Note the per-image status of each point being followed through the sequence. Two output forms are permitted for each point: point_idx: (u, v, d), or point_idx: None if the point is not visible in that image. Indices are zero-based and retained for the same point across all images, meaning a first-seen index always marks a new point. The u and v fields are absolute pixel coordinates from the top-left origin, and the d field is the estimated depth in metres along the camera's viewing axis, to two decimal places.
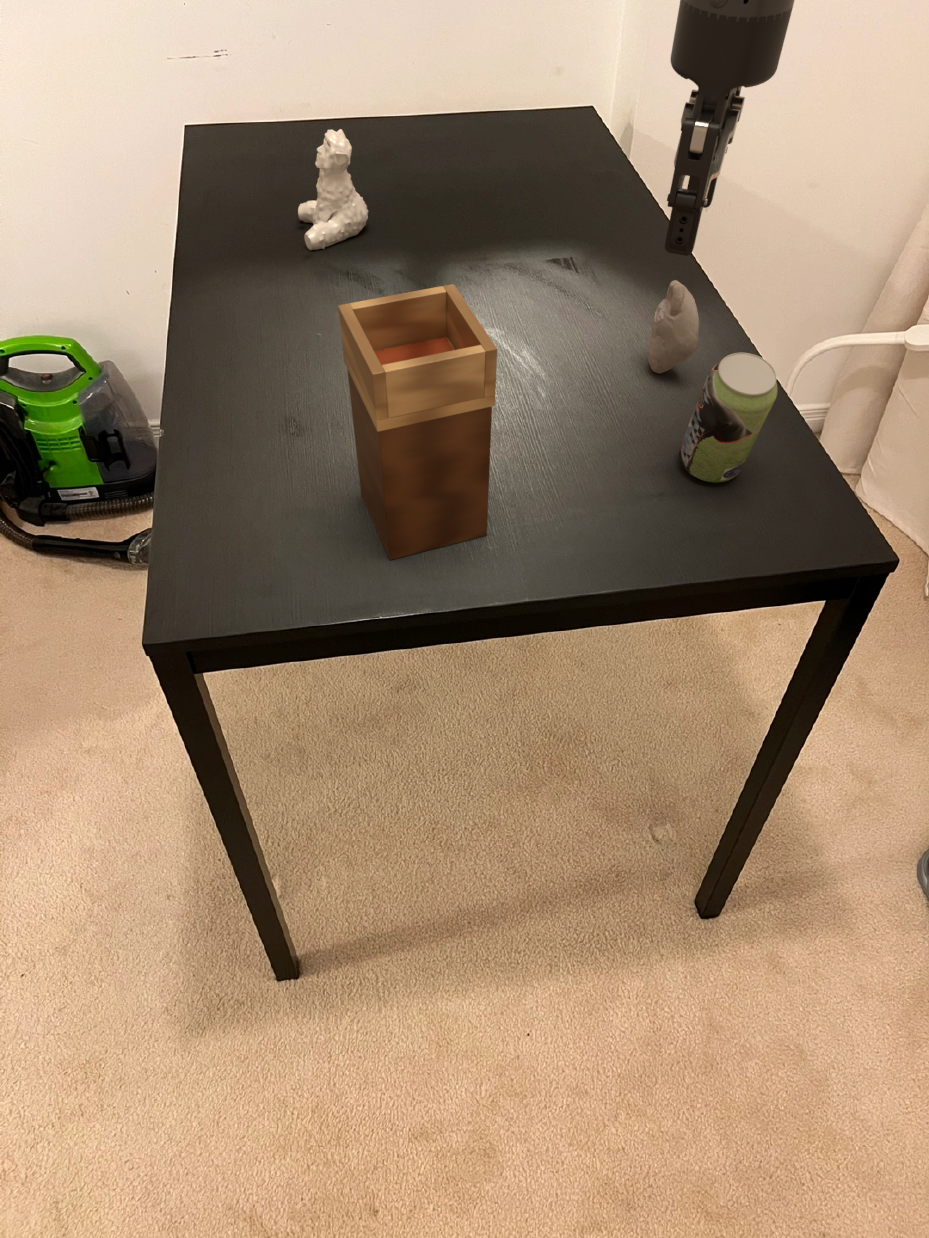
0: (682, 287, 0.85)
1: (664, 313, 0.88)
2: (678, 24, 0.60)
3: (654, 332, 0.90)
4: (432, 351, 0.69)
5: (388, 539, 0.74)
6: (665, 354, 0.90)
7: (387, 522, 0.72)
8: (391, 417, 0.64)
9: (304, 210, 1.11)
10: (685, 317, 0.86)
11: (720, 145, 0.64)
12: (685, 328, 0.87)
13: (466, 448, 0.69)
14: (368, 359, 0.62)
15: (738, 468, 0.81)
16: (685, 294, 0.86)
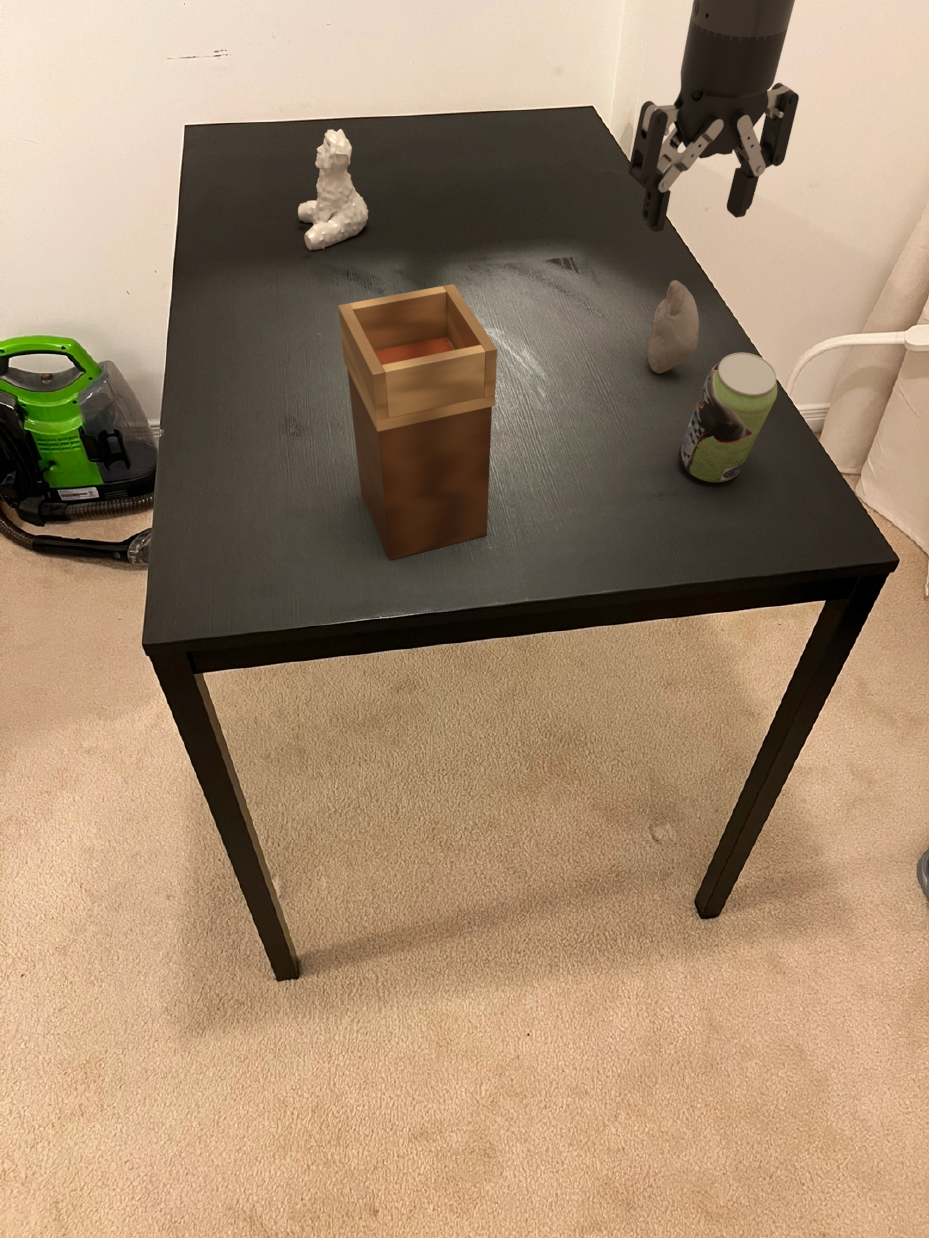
0: (682, 287, 0.85)
1: (664, 313, 0.88)
2: None
3: (654, 332, 0.90)
4: (432, 351, 0.69)
5: (388, 539, 0.74)
6: (665, 354, 0.90)
7: (387, 522, 0.72)
8: (391, 417, 0.64)
9: (304, 210, 1.11)
10: (685, 317, 0.86)
11: (691, 142, 0.73)
12: (685, 328, 0.87)
13: (466, 448, 0.69)
14: (368, 359, 0.62)
15: (738, 468, 0.81)
16: (685, 294, 0.86)
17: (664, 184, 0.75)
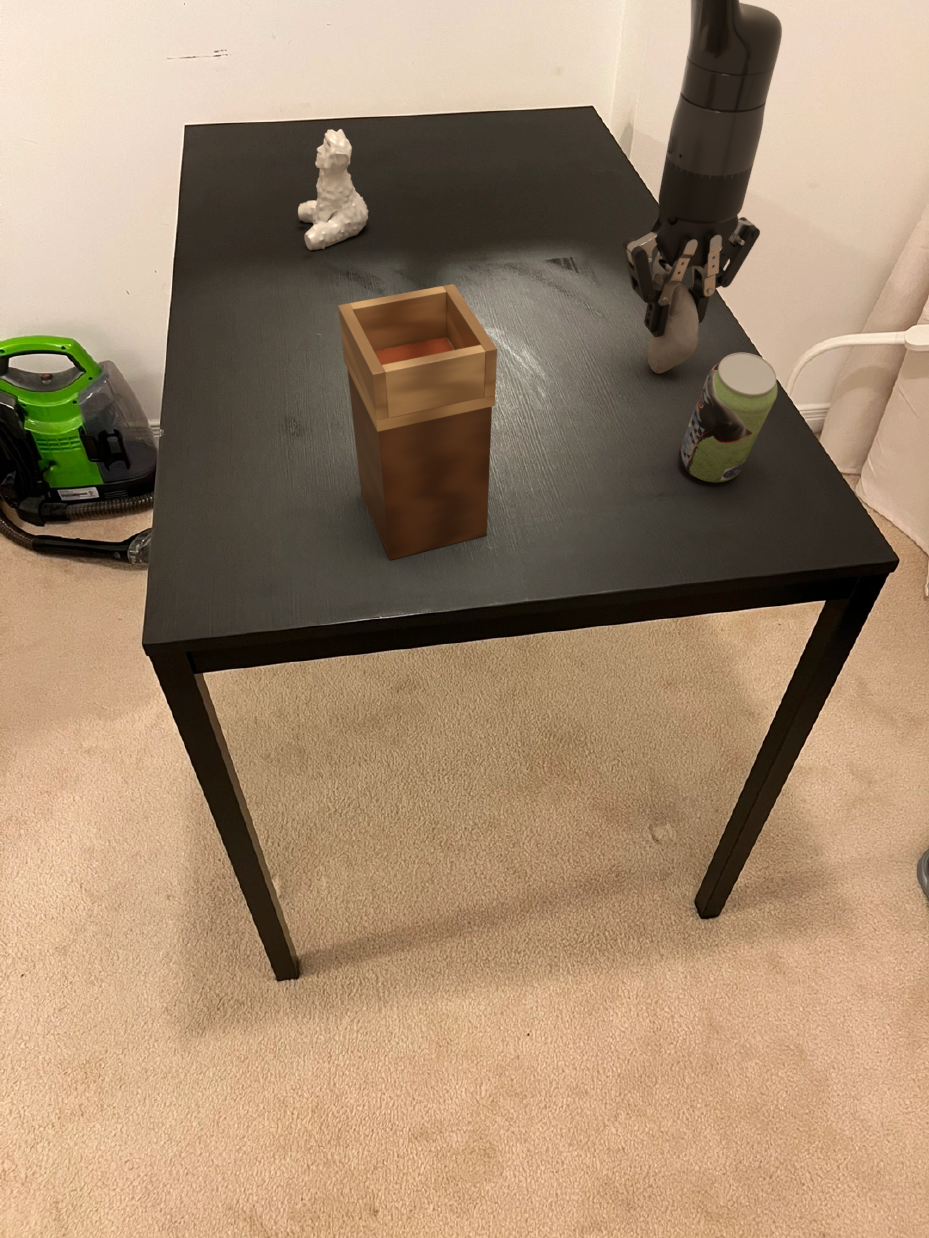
0: (682, 287, 0.85)
1: None
2: None
3: None
4: (432, 351, 0.69)
5: (388, 539, 0.74)
6: (665, 354, 0.90)
7: (387, 522, 0.72)
8: (391, 417, 0.64)
9: (304, 210, 1.11)
10: (685, 317, 0.86)
11: (674, 263, 0.82)
12: (685, 328, 0.87)
13: (466, 448, 0.69)
14: (368, 359, 0.62)
15: (738, 468, 0.81)
16: (685, 294, 0.86)
17: (663, 300, 0.84)
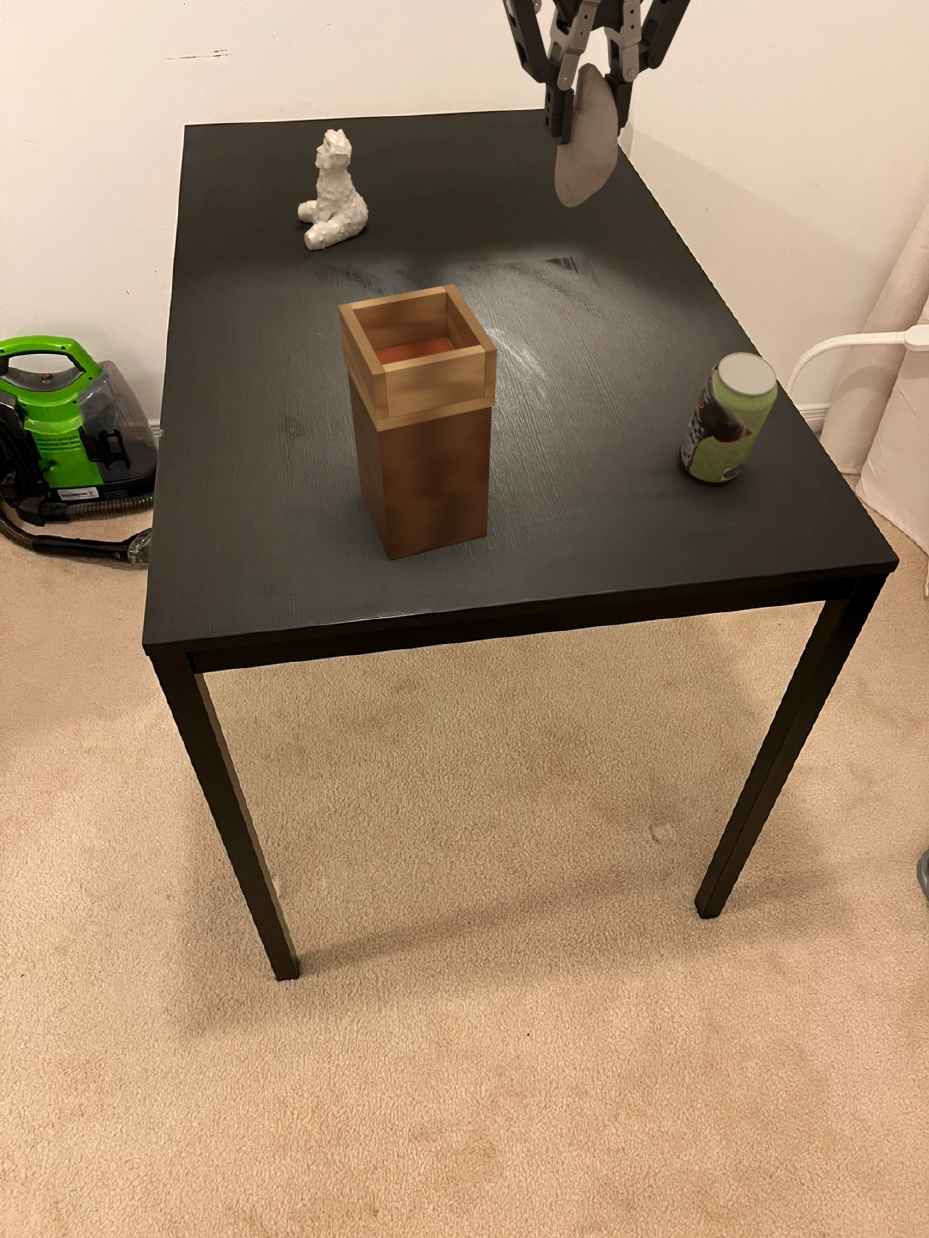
0: (591, 66, 0.61)
1: None
2: None
3: None
4: (432, 351, 0.69)
5: (388, 539, 0.74)
6: (575, 173, 0.65)
7: (387, 522, 0.72)
8: (391, 417, 0.64)
9: (304, 210, 1.11)
10: (597, 111, 0.62)
11: (574, 17, 0.57)
12: (598, 128, 0.62)
13: (466, 448, 0.69)
14: (368, 359, 0.62)
15: (738, 468, 0.81)
16: (597, 78, 0.61)
17: (564, 80, 0.60)
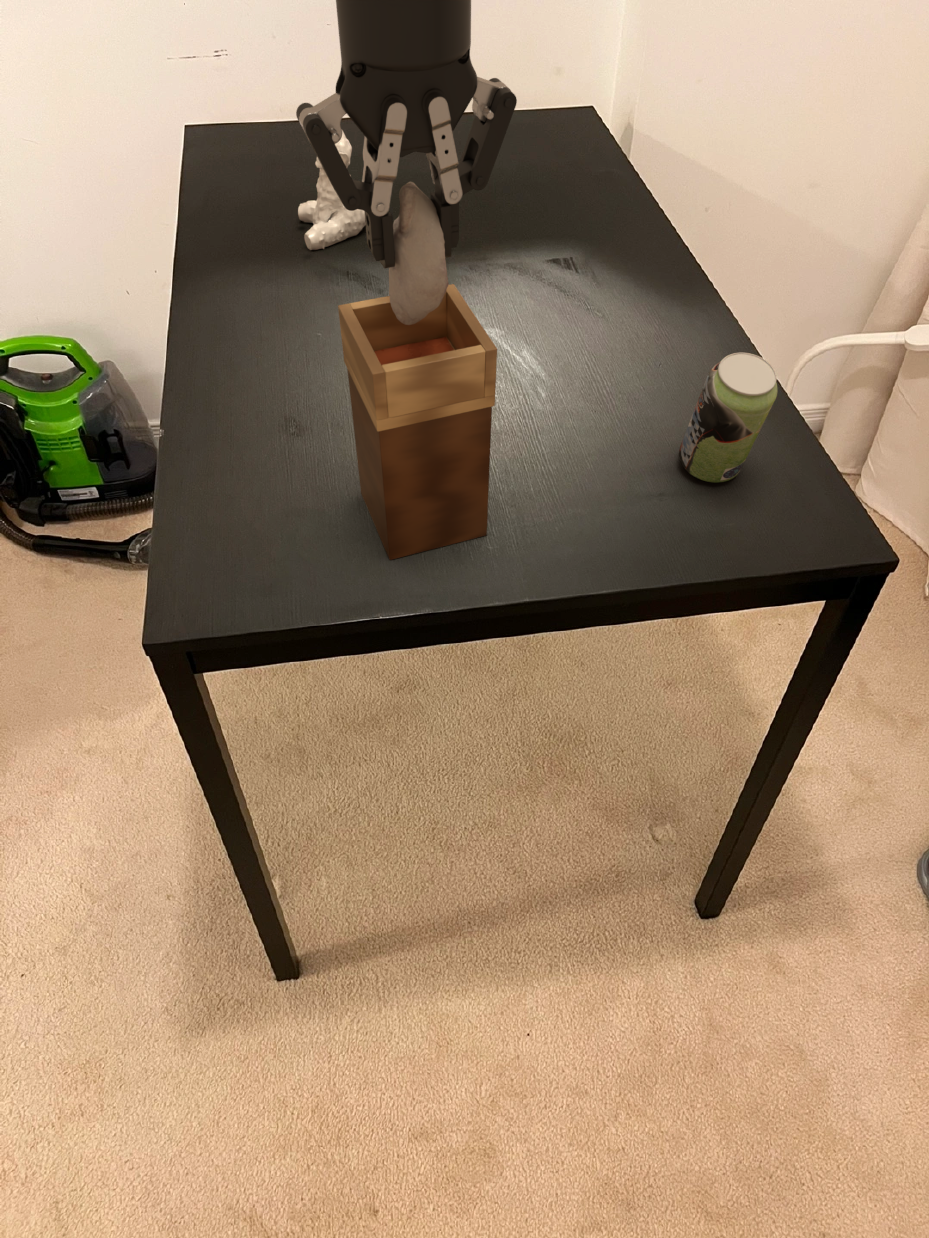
0: (410, 188, 0.56)
1: (395, 232, 0.59)
2: None
3: None
4: (432, 351, 0.69)
5: (388, 539, 0.74)
6: (405, 294, 0.61)
7: (387, 522, 0.72)
8: (391, 417, 0.64)
9: (304, 210, 1.11)
10: (419, 235, 0.57)
11: (379, 145, 0.53)
12: (423, 252, 0.58)
13: (466, 448, 0.69)
14: (368, 359, 0.62)
15: (738, 468, 0.81)
16: (417, 200, 0.57)
17: (378, 206, 0.55)
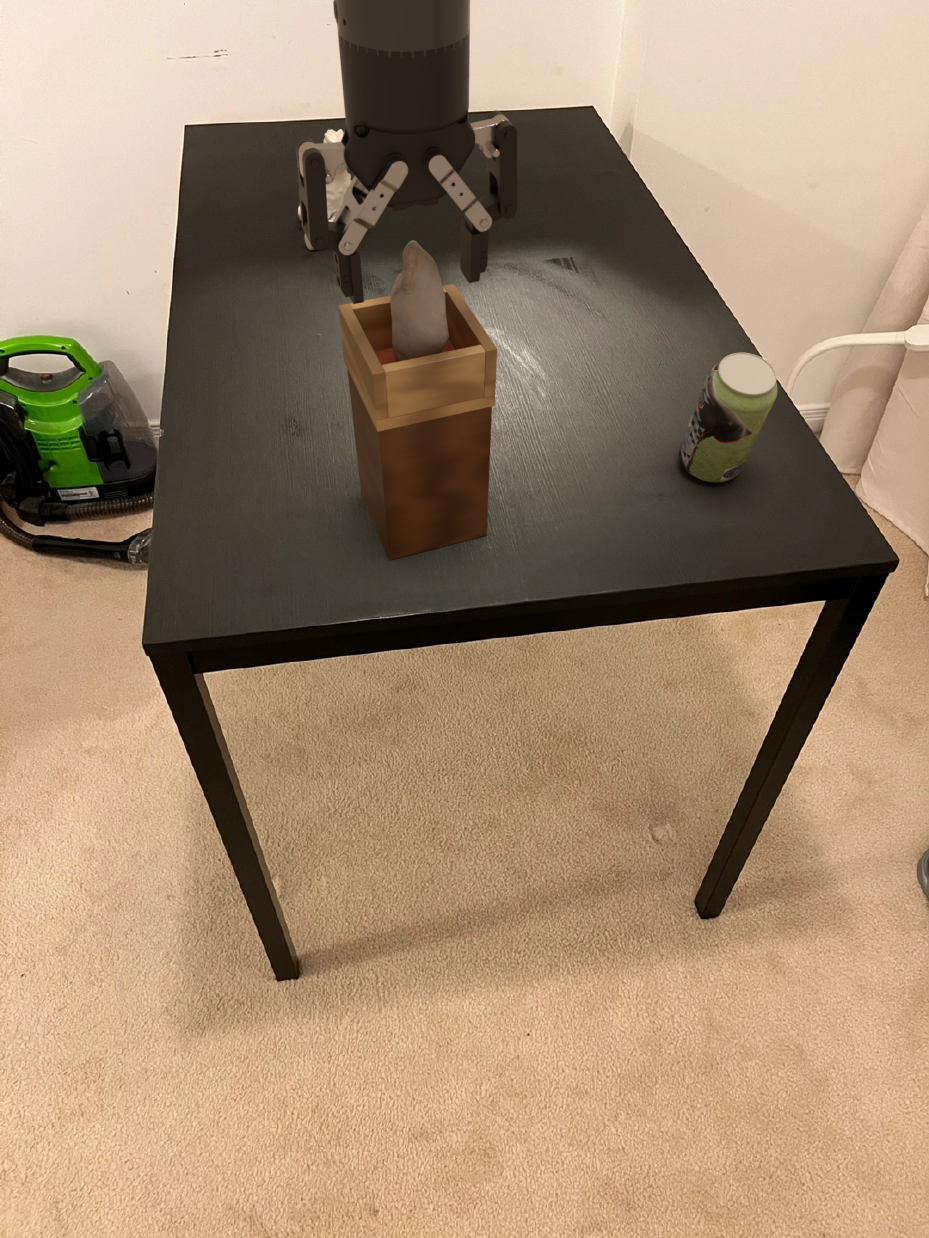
0: (413, 249, 0.59)
1: (398, 287, 0.62)
2: None
3: (392, 315, 0.64)
4: None
5: (388, 539, 0.74)
6: (408, 346, 0.64)
7: (387, 522, 0.72)
8: (391, 417, 0.64)
9: None
10: (421, 292, 0.60)
11: (370, 191, 0.55)
12: (424, 308, 0.61)
13: (466, 448, 0.69)
14: (368, 359, 0.62)
15: (738, 468, 0.81)
16: (420, 259, 0.60)
17: (346, 245, 0.57)
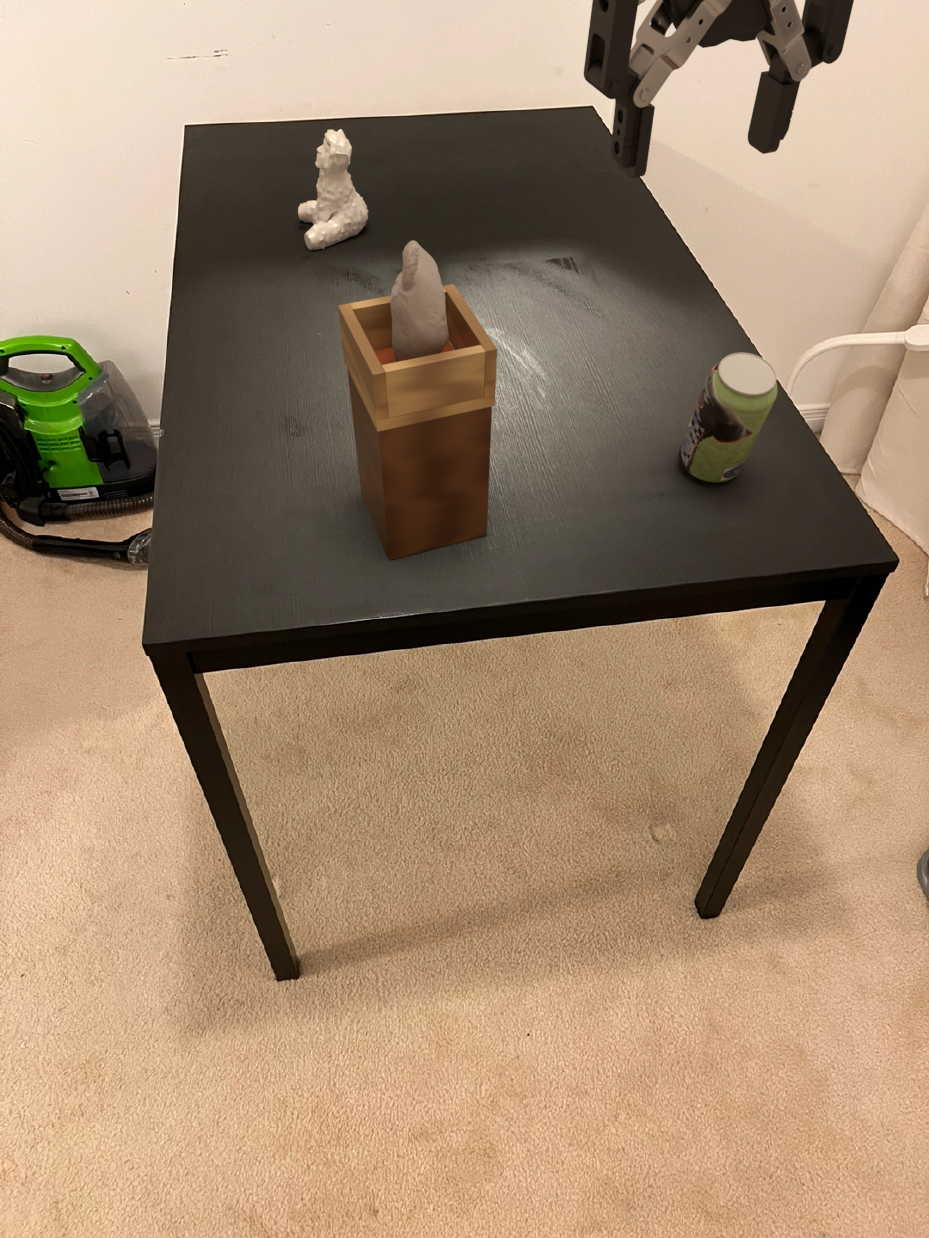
0: (413, 249, 0.59)
1: (398, 287, 0.62)
2: None
3: (392, 315, 0.64)
4: None
5: (388, 539, 0.74)
6: (408, 346, 0.64)
7: (387, 522, 0.72)
8: (391, 417, 0.64)
9: (304, 210, 1.11)
10: (421, 292, 0.60)
11: (687, 16, 0.43)
12: (425, 308, 0.61)
13: (466, 448, 0.69)
14: (368, 359, 0.62)
15: (738, 468, 0.81)
16: (420, 259, 0.60)
17: (643, 93, 0.45)
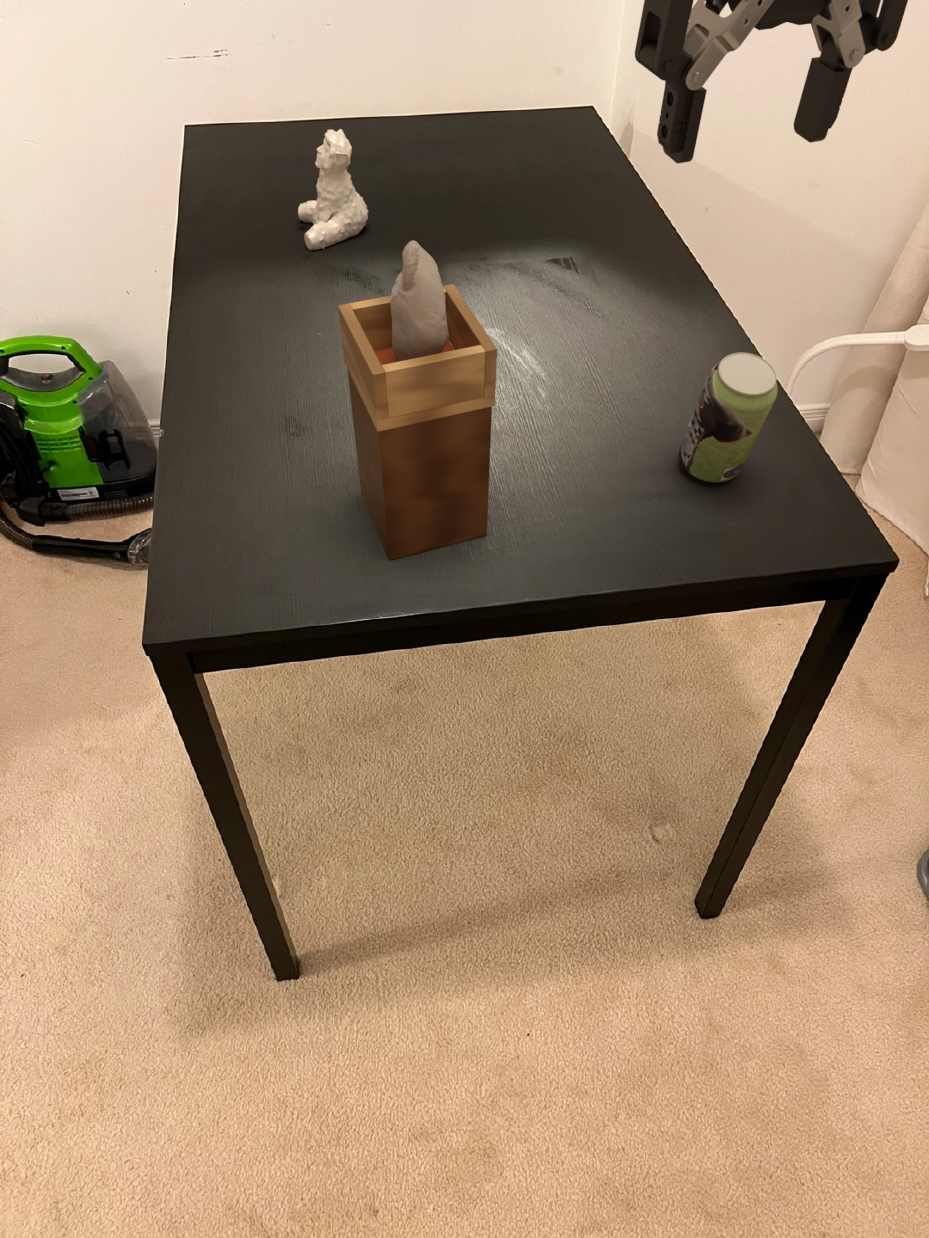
0: (413, 249, 0.59)
1: (398, 287, 0.62)
2: None
3: None
4: None
5: (388, 539, 0.74)
6: (408, 346, 0.64)
7: (387, 522, 0.72)
8: (391, 417, 0.64)
9: (304, 210, 1.11)
10: (421, 292, 0.60)
11: None
12: (424, 308, 0.61)
13: (466, 448, 0.69)
14: (368, 359, 0.62)
15: (738, 468, 0.81)
16: (420, 259, 0.60)
17: (696, 75, 0.44)
